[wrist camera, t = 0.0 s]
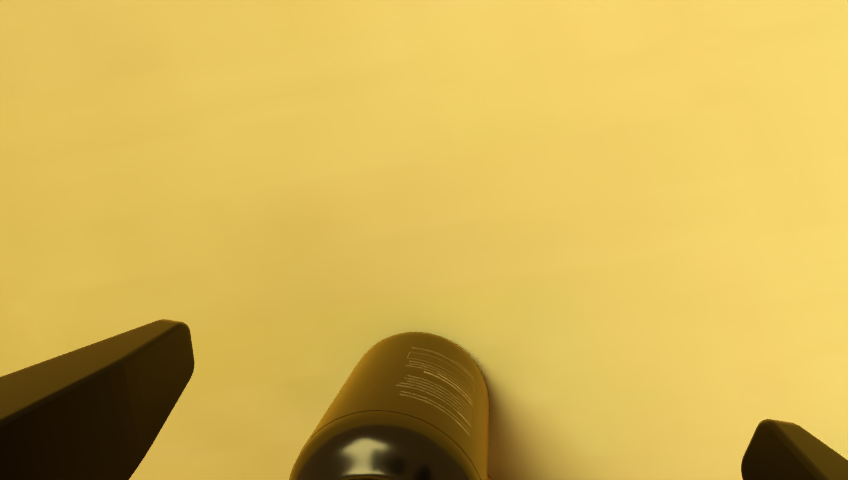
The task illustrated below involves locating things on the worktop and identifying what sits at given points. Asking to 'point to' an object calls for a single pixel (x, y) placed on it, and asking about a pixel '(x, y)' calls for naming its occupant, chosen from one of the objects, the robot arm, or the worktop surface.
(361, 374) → the supplement bottle
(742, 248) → the worktop surface
